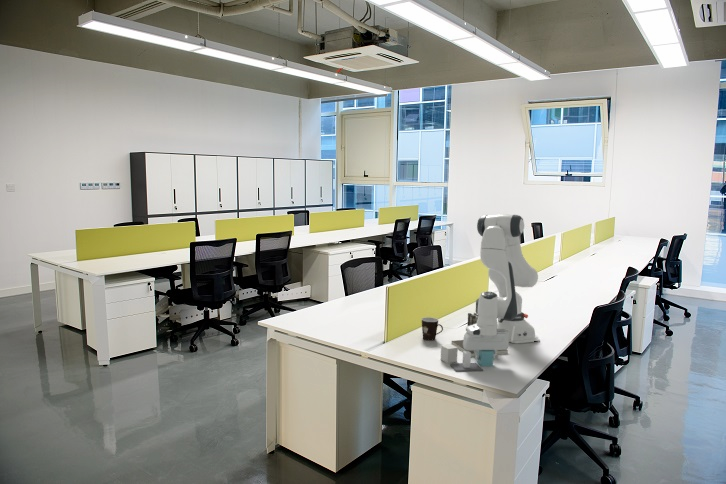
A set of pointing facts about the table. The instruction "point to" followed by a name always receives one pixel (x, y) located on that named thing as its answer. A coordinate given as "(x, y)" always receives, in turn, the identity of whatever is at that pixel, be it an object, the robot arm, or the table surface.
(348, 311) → the table surface
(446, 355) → the light grey block
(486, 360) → the teal block
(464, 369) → the stand
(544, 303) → the table surface
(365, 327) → the table surface
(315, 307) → the table surface
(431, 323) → the coffee mug
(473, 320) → the building model
